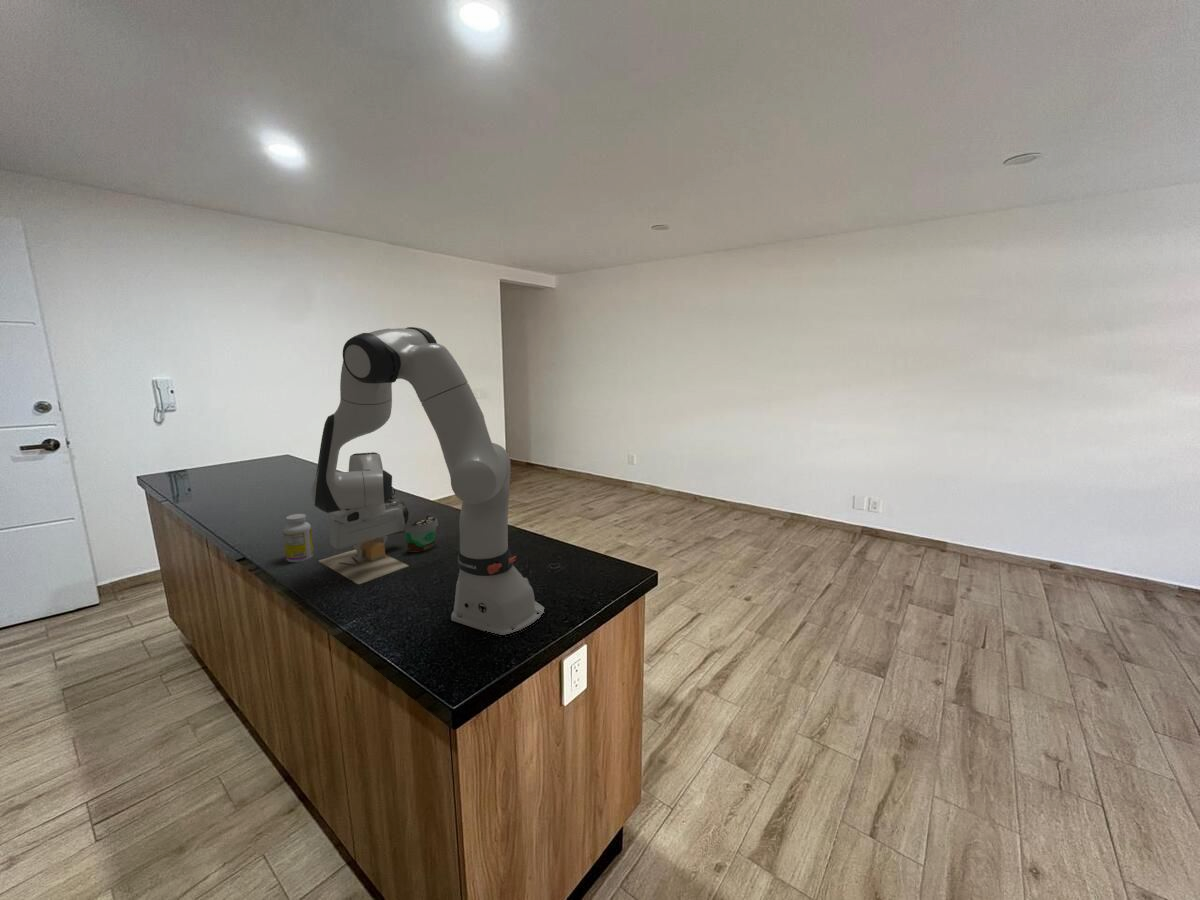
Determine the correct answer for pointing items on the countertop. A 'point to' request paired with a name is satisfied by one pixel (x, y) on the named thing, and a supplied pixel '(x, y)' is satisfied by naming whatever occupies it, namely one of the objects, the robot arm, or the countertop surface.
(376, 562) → the birch board
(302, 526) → the supplement bottle
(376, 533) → the robot arm
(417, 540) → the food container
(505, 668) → the countertop surface
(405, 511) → the alarm clock
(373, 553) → the block
